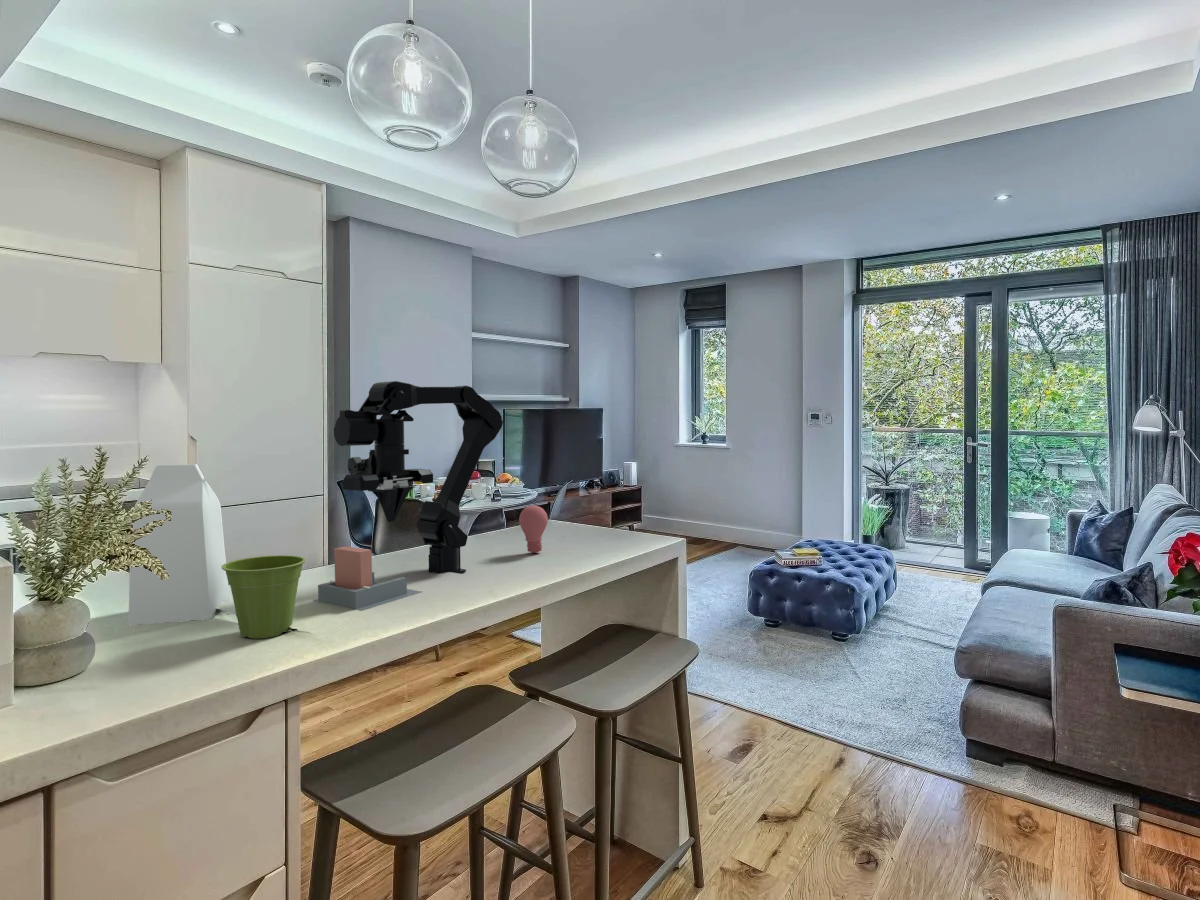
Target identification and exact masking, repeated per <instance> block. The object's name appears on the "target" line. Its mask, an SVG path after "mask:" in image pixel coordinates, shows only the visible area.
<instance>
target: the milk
mask: <svg viewBox="0 0 1200 900" xmlns="http://www.w3.org/2000/svg"><path fill="white" fill-rule="evenodd" d="M145 485H146V486H145V487H144V488H143V490H142V492H141V494H140V496H139V497H138V499H137V501H136V503H135V504H134V506H136V505H137V504H138V503H140V502H143V501H149V500H151V499H152V501H150V502H149V503H152V504H151V506H150V507H151V508H152V509H153V510H161V509H168V510H172V519H171V521H169V522H167V521H168V520H170V518H168V519H167V520H166V521H165V524H164V525H162V526H160V527H156V528H155V529H153V531H152V534H151V535H148V536H145V537H142V538H140V539H138V540H136V541H135V542H133V544H135V545H137V546H141V547H143V548H146V549H149V551H150V553H151V555H153V556H155V557H157V558H158V559H160V560H161V562H162V564H163V566H164V568H165V569H166V571H167V573H168V575H169V579H168V580H161V579H160V578H161V577H160V578H159V577H158V576H157V575H156V574H154V573H152V572H151V571H149V570H148V569H145V568H143V567H133V568H130V567H129V580H128V581H129V583H128V584H129V588H128V591H129V592H128V599H129V600H128V626H129V625H133V626H140V625H139V624H146V625H154V624H153V623H159V624H166V623H165V622H172V623H181V622H180V621H185V622H191V621H190V620H197V621H203V620H202V619H210V620H212V619H213V618H214V617H215V616H216V615H217V614H218V613H219V612H220V611H221V609H219V608H218V607H220V605H221V604H222V603H224V602H228V601H230V590H229V588H230V587H229V583H228V579H227V575H226V571H225V570H223V569H222V565H224V564H226V563H227V558H226V549H225V547H226V546H225V536H224V527H223V526H224V525H223V517H222V516H223V514H222V506H221V502H220V500H219V498H218V496H217V494H216V493H215V491H214V490H213V489H212V487H211V486H210V485H209V483H208V482H207V480H206V479H205V477H204V474H203V473H202V471H201V469H200V468H199V465H198V463H190V464H189V463H187V464H185V463H184V464H157V465H155V467H154V470H153V471H152V473H151V475H150V478H149V480H148V482H147V484H145ZM159 512H161V511H159ZM166 512H167V511H166ZM169 513H170V512H169ZM165 515H166V514H165V513H160V514H155V515H149V516H147V517H144V518H142V519H139V520H137V521H135V522H134V524H133V529H134V530H135V529H138V528H142V527H143V526H145V525H146V524H147V523H150V522H153V521H158V520H165V519H166V516H165ZM217 612H218V613H217ZM216 613H217V614H216ZM215 614H216V615H215ZM214 615H215V616H214ZM213 616H214V617H213ZM212 617H213V618H212ZM211 618H212V619H211ZM137 624H138V625H137Z"/></svg>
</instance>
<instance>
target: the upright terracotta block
mask: <svg viewBox="0 0 1200 900" xmlns="http://www.w3.org/2000/svg"><path fill="white" fill-rule="evenodd" d="M333 549H334V550H333V553H334V581H335V586H338V587H343V588H348V589H354V590H357V589H361V588H363V586H367V587H368V586H372V572H373V567H372V566H373V563H372V561H373V560H372V559H373V558H372V549H367V548H360V547H353V546H348V545H347V546H346V545H343V546H340V547H335V548H333Z"/></svg>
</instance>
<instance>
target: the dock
mask: <svg viewBox="0 0 1200 900" xmlns="http://www.w3.org/2000/svg"><path fill="white" fill-rule="evenodd" d="M407 587H408V582H407V577H403V576H402V577H397V578H394V579H390V580H387V581H383V582H379V583H375V572H373V571H372V586H368V587H367V586H363V588H361V589H357V590H354V589H348V588H343V587H338V586H335V579H333V580H332V579H330V581H328V582H324V583H321V584H320V583H319V584H318V585H317V593H318V594H317V596H318V597H317V599H313V602H318V603H324V604H328V605H332V606H337V607H342V608H347V609H351V610H355V611H361V612H363V611H366V610H370V609H372V608H376V607H379V606H381V605H386V604H389V603H391V602H395V601H398V600H401V599H404V598H408V597H411V596H415V595H417V594H421V593H423V591H420V590H417V589H415V590H414V589H411V588H407Z"/></svg>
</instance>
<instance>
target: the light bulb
mask: <svg viewBox="0 0 1200 900" xmlns="http://www.w3.org/2000/svg"><path fill="white" fill-rule="evenodd" d="M548 517H549V516H548V513H547V512H546V511H545V509H544V508H542V507H541V506H538V505H528V506H526V507H525V508H524V509H522V510H521V512H520V514H519V519H518V520H519V521H518V522H519V525H520V527H521V531H522V532H523V534H524V536H525V541H526V542H527V543H526V547H527V552H529V553H532V554H537V553H539V552H542V551H543V550H542V549H543V543H542V539H543V538H542V536H543V534H544V532H545V530H546V528H547V525H548V520H549V519H548Z"/></svg>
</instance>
